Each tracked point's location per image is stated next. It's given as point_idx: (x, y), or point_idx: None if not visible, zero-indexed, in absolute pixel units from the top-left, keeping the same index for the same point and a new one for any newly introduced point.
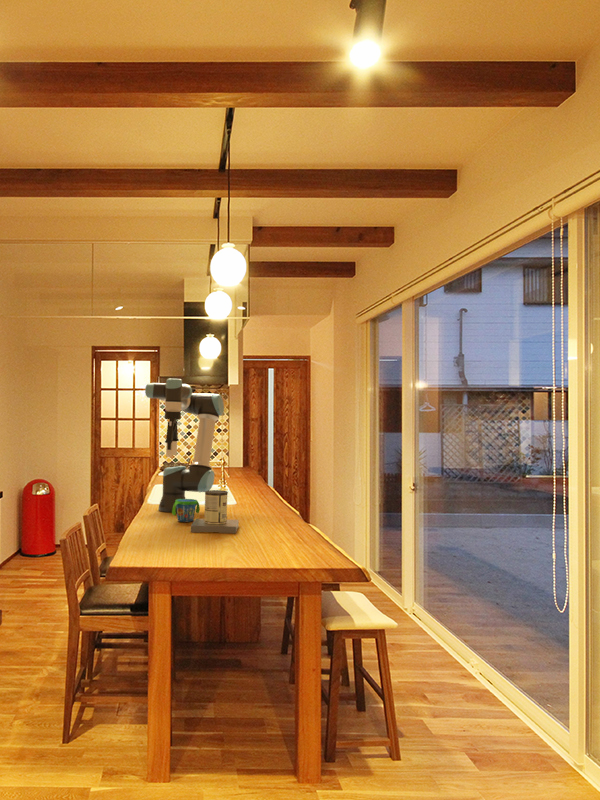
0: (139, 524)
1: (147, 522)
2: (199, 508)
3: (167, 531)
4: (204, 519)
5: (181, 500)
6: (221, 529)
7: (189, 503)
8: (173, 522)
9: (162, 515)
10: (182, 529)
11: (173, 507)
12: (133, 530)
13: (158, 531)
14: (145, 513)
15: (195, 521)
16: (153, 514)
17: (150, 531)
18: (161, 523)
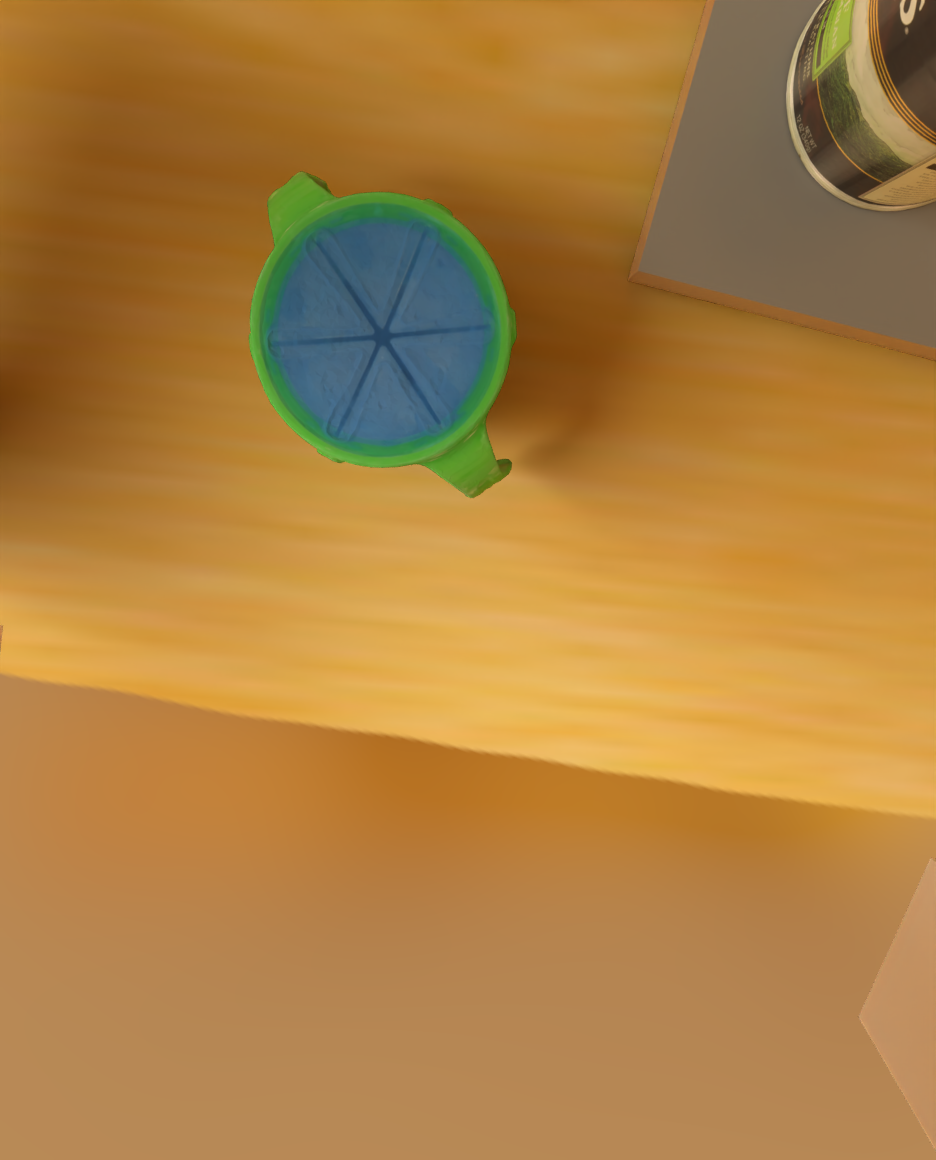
0: (536, 740)
1: (451, 676)
2: (315, 177)
3: (881, 555)
4: (895, 202)
5: (324, 390)
6: None
7: (514, 312)
8: None
9: (104, 530)
10: (818, 424)
11: (482, 490)
12: (784, 794)
13: (865, 623)
14: (6, 663)
15: (801, 294)
16: (54, 602)
17: (851, 681)
18: (508, 572)
